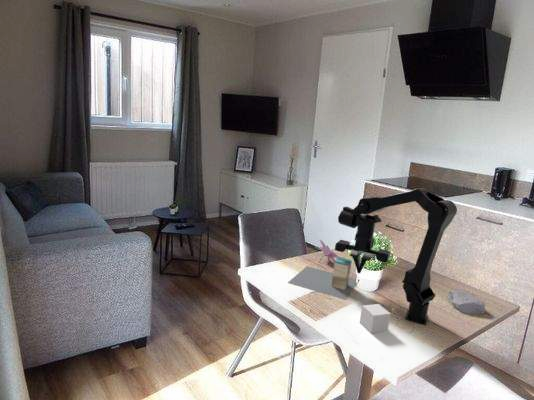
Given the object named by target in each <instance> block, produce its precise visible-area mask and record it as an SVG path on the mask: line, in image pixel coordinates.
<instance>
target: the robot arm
mask: <svg viewBox="0 0 534 400" xmlns="http://www.w3.org/2000/svg"><path fill="white" fill-rule="evenodd" d="M413 202H415V203H417V204H418V206H420V208H421V209H423V210H424V211H425V212H426V213H427V218H426V219H427V225H428V227H427V230H426V233H425V236H424V239H423V242H422V245H421V248H420V251H419V253H418V256H417V259H416V262H415V265H414V267H413V268H409V269H408V270H406V271H405V273H404V278H403V280H402V282H401V283H403V285H402V289H403V291H404V292H405V298H406V302H408V303H409V305H408V309H407V310H406V314H405V317H404V319H405V320H407V321H410V322H413V323H418V324H420V325H424V326H427V323H428V320H429V319H428V318H429V315H428V312H429V307H430V302H431V301H433V300H434V299H435V297H436V294H435V293H434V291H433V289H432V287H431V280H432V279H431V268H432V265H433V264H434V263H433V262H434V260H435V258H436V254H437V251H438V249H439V246H440V243H441V241H442V238H443V234H444V232H445V230H446V229H447V228H448V227H449V225H450V224H451V222H452V221H453V219H454V218H455V216H456V214H457V212H458V208H457V205H456V204H455V203H454V202H453V201H452V200H449V199H444V198H443V197H441V196H439V195H437V194H435V193H433V192H431V191H429V190H428V189H426V188H424V187H419V188H414V189H412V190H409V191H404V192H399V193H395V194H390V195H389V194H388V195H386V196H382V195H379V196H378V195H376V196H367V197H362V198H360V199H359V201H358V204H357V205H356V206H355V207H354V208H351V207H349V206H343V208H342V210H341V211H340V213H339V215H338V217H337V220H338V221H337V222H338V223H339V224H340V225H343V226H345V227H349V228H352V229H355V228H357V229H356V233H355V236H354V241H355V243H354V244H351V241H348V240H344V239H339V240H338V241H337V242H336V243H335V246H334V250H335V251H337V252H341V253H344V252H345V251H346V250H347V251H350V254H349V256H350V257H352V261H353V262H354V265H355V269H356V272H357V274H361V273H362V270H363V269H364V267H365V265H366V264H367V262H369V261H371V260H372V258H374V257H375V259H376V260H377V262H378V261H379V262H381V263H382V262H383V263H388V262H389V260H390V258H391V251H390V250H388V249H383V248H379V249H378V250H374V249H373V247H374V245H375V238H374V234H375V233H374V232H375V227H376V224H378V223H382V219H381V218H380V217H379V214H375V213H378V212H381V211H383V210H385V209H386V208H389V207H393V206H399V205H404V204H409V203H413ZM370 214H374V215H370ZM373 244H374V245H373ZM362 254H363V256H362ZM360 255H361V260H360ZM366 261H367V262H366Z"/></svg>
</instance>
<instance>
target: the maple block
mask: <svg viewBox="0 0 534 400" xmlns="http://www.w3.org/2000/svg"><path fill="white" fill-rule="evenodd" d="M334 260H335V262H334V264H333V270H332V271H333V272H332V273H333V278H332V286H333V287H336V288H340V289H344V290H345V289H346V287H347V286H348V283H349V277H350V275H351V268H352V261H353V259H349V258H346V257H342V256H338V258H335V259H334Z"/></svg>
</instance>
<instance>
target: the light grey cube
mask: <svg viewBox="0 0 534 400" xmlns="http://www.w3.org/2000/svg"><path fill="white" fill-rule="evenodd" d="M390 320H391V312H389V311H388V310H387V308H385V307H383V306H382V305H381V304H380V303H376V304H375V303H374V304H365V305H362V306H361V311H360V319H359V324H360V325H361V326H362V327H363V328H364V329H365V330H366V331H367V332H368V333H369V334H378V333H385V332H388V331H389V326H390Z"/></svg>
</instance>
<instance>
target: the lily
mask: <svg viewBox="0 0 534 400" xmlns="http://www.w3.org/2000/svg"><path fill="white" fill-rule="evenodd" d="M318 239H319V242H320V244H321V246H318V249H319V250H321V251H322V256H321V258H320V259H319V261H318V264H319V263H320V262H321V260H322V259H323V258H324V257H327V259H331V260H332V262H334V263H335V260H336V259H337V258H338V257H339V256H338V255H337V254H336V252H334V251H332V250H331V249H330V247H329V245H326V244H325V243H324V242H323V240H322V239H320V238H318Z"/></svg>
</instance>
